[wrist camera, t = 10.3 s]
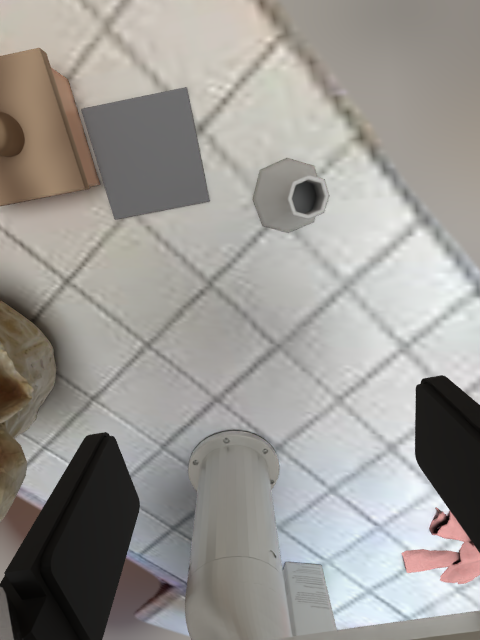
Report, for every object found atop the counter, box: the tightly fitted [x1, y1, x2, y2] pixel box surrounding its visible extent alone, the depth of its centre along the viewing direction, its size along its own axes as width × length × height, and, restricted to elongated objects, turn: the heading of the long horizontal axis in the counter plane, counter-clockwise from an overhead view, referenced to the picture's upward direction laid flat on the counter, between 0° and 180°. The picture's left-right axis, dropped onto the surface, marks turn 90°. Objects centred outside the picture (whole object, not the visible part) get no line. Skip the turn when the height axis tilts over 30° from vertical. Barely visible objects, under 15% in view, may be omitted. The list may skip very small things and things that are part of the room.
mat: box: [81, 87, 210, 219], centre depth 32 cm, size 10×10×1 cm
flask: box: [253, 158, 329, 233], centre depth 30 cm, size 7×7×10 cm
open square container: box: [51, 68, 100, 187], centre depth 30 cm, size 9×9×4 cm
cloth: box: [402, 508, 480, 584], centre depth 53 cm, size 20×22×2 cm
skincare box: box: [283, 562, 337, 636], centre depth 48 cm, size 8×7×16 cm
